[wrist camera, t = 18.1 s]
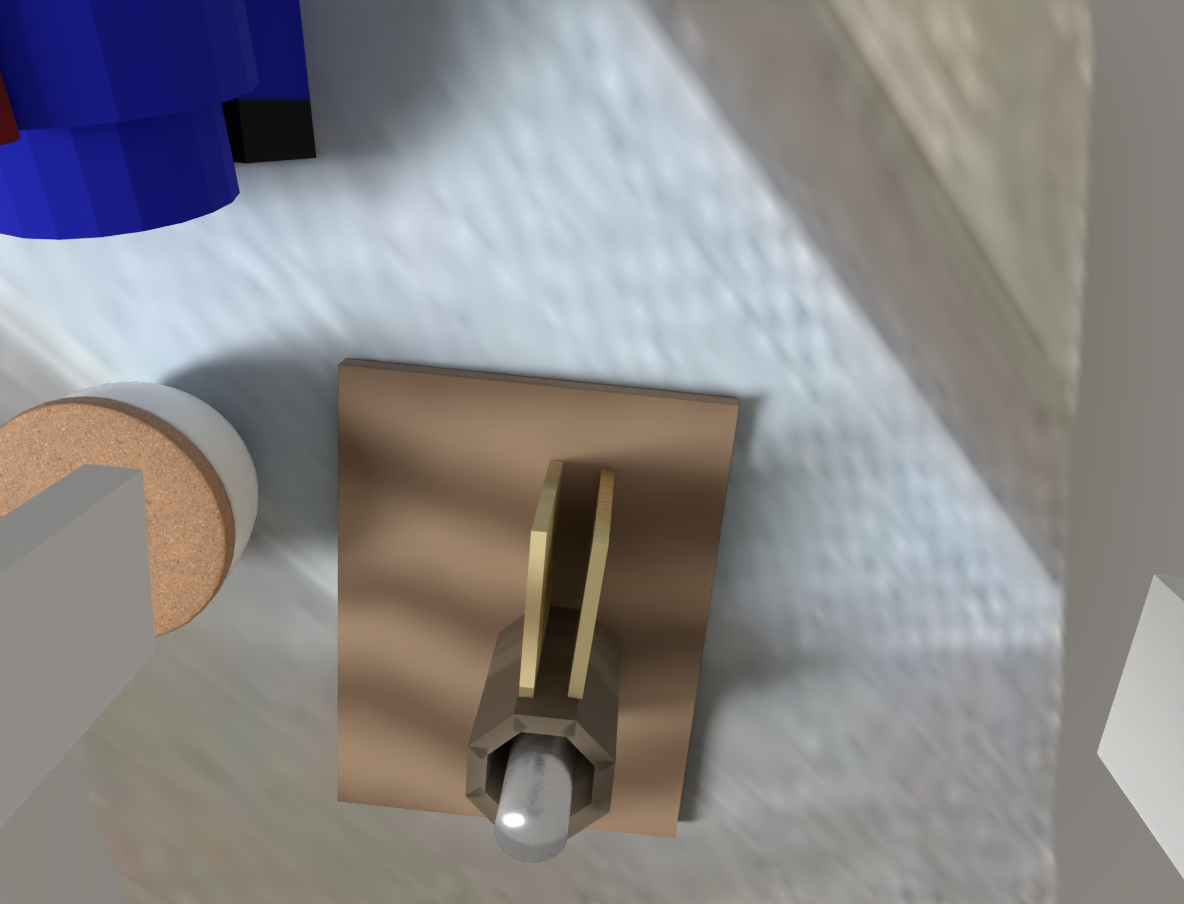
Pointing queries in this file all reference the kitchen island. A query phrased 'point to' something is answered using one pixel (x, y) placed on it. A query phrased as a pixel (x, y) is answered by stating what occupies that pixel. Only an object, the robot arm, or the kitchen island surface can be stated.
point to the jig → (521, 585)
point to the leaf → (592, 584)
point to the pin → (536, 797)
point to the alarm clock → (142, 109)
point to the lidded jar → (148, 479)
